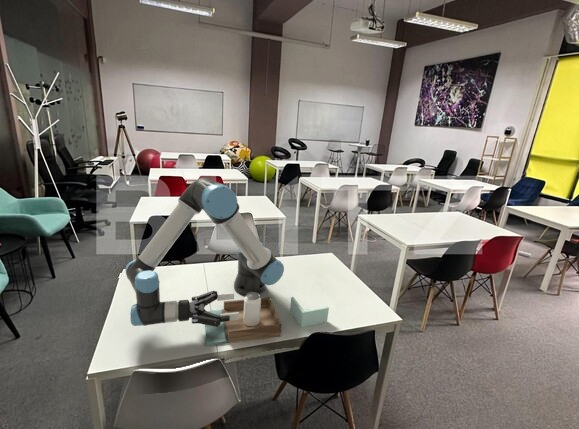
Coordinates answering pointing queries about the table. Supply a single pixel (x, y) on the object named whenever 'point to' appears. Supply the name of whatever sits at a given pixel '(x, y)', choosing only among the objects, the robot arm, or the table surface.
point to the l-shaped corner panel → (308, 314)
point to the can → (252, 309)
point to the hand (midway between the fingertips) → (236, 305)
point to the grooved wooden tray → (238, 329)
